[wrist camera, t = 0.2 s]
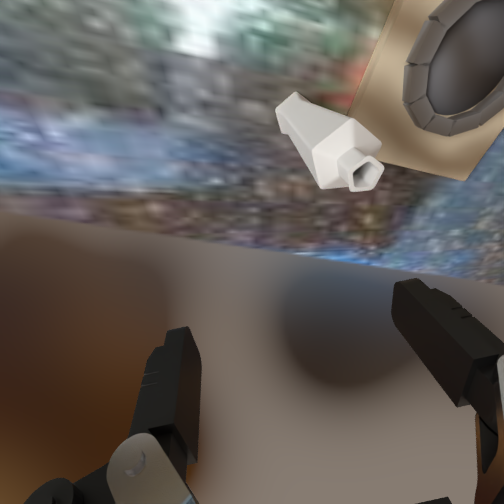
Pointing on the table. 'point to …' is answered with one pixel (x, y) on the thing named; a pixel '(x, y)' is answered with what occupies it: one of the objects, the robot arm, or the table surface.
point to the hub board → (435, 85)
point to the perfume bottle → (331, 144)
